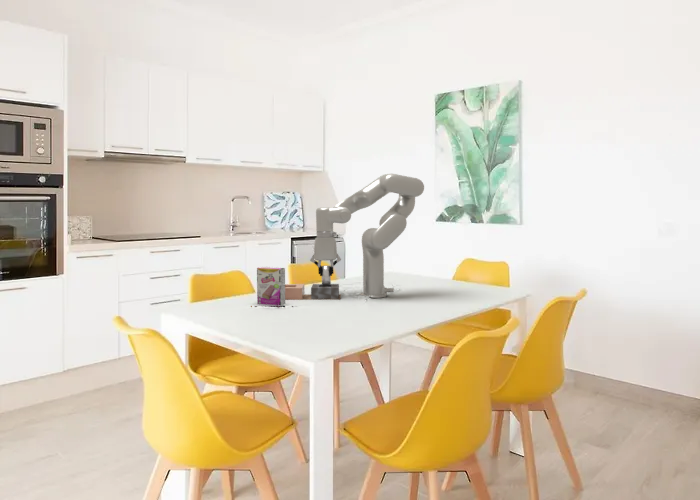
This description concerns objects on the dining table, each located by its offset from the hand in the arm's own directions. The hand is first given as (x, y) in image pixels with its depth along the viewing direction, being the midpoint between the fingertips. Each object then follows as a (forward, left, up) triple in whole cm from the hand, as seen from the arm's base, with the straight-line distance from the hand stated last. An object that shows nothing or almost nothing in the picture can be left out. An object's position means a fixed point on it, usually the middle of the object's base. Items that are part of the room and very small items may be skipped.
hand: (326, 275), depth 249 cm
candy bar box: (+22, +16, -11) cm, 30 cm away
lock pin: (0, 0, -7) cm, 7 cm away
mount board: (+8, 0, -11) cm, 14 cm away
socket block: (+16, 0, -10) cm, 19 cm away
